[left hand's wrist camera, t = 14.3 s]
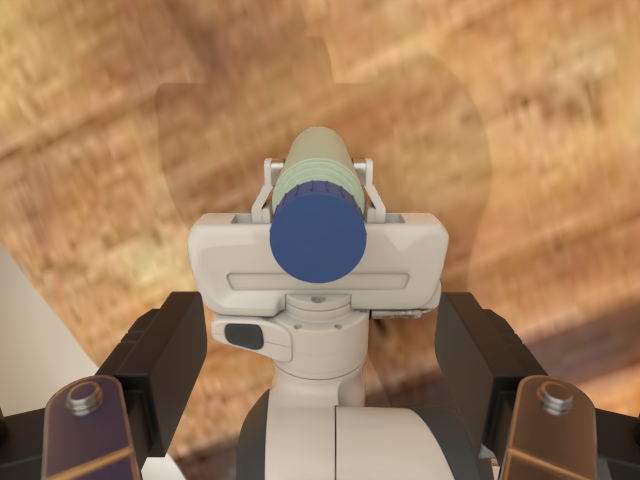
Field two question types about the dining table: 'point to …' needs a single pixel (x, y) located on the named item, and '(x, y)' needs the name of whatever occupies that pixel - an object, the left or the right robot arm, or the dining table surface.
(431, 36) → the dining table surface
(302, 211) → the cap
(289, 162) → the bottle
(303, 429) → the right robot arm
